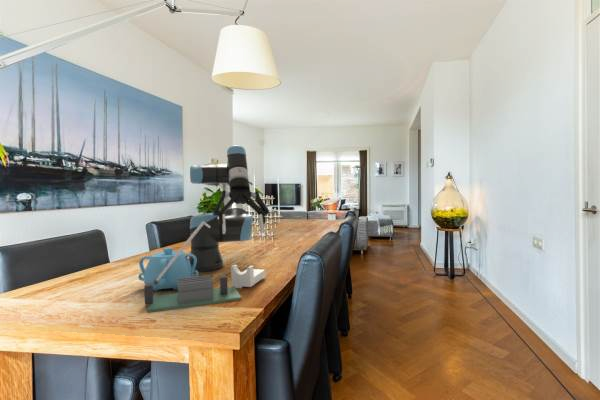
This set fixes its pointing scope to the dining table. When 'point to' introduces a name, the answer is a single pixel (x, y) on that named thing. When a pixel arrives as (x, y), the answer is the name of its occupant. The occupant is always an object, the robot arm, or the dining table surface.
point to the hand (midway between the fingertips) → (243, 232)
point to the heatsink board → (174, 300)
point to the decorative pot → (175, 271)
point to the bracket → (246, 276)
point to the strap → (180, 251)
